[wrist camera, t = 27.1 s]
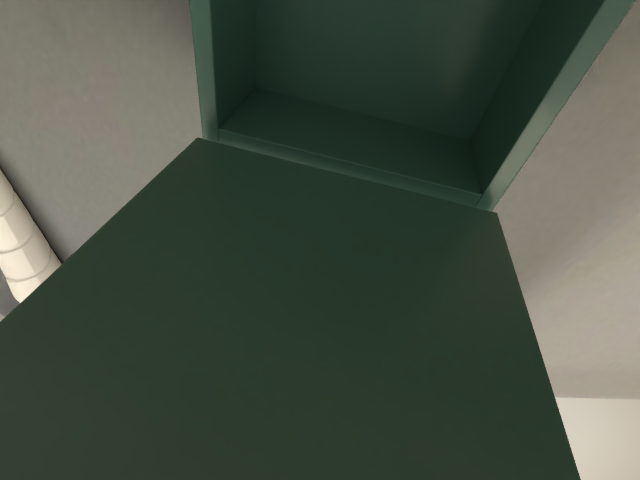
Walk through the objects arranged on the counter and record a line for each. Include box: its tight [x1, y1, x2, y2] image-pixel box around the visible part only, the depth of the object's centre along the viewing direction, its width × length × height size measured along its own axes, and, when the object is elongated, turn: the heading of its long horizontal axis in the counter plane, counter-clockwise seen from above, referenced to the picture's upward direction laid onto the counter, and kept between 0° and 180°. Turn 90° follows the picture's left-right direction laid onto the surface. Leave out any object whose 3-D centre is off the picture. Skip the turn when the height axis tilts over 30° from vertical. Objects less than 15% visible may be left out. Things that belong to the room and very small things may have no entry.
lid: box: [0, 138, 581, 480], centre depth 10 cm, size 15×14×1 cm
